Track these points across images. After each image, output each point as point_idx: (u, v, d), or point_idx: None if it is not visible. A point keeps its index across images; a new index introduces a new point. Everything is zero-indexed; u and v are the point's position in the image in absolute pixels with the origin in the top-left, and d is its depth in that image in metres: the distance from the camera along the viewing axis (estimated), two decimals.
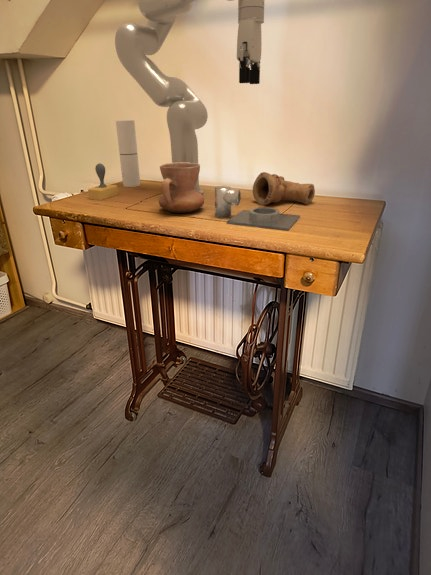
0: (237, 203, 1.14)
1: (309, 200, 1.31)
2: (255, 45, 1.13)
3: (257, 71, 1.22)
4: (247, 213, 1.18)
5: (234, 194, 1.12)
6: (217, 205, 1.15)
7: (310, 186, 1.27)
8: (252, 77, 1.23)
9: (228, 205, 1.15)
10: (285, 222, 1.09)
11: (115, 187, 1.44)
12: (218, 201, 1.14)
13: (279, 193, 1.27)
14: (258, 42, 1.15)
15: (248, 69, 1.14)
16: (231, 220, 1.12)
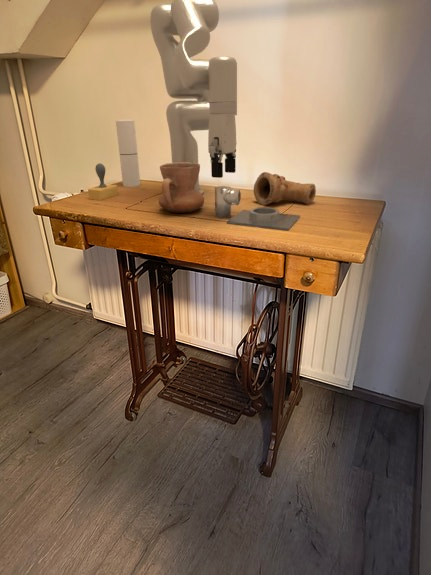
0: (237, 203, 1.14)
1: (310, 200, 1.31)
2: (227, 139, 1.05)
3: (232, 160, 1.14)
4: (247, 213, 1.18)
5: (234, 194, 1.12)
6: (217, 205, 1.15)
7: (311, 186, 1.27)
8: (227, 166, 1.16)
9: (228, 205, 1.15)
10: (285, 222, 1.09)
11: (115, 187, 1.44)
12: (218, 201, 1.14)
13: (280, 193, 1.27)
14: (231, 135, 1.07)
15: (220, 164, 1.06)
16: (231, 220, 1.12)
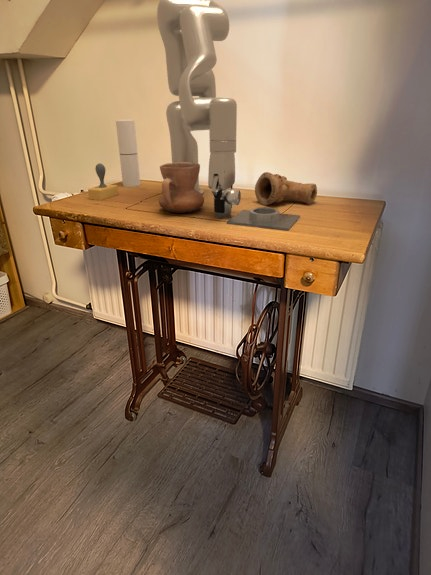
0: (237, 203, 1.14)
1: (311, 200, 1.31)
2: (227, 175, 1.10)
3: None
4: (247, 213, 1.18)
5: (234, 194, 1.12)
6: None
7: (313, 186, 1.27)
8: None
9: (228, 205, 1.15)
10: (285, 222, 1.09)
11: (115, 187, 1.44)
12: None
13: (282, 193, 1.27)
14: (231, 170, 1.12)
15: (223, 201, 1.13)
16: (231, 220, 1.12)
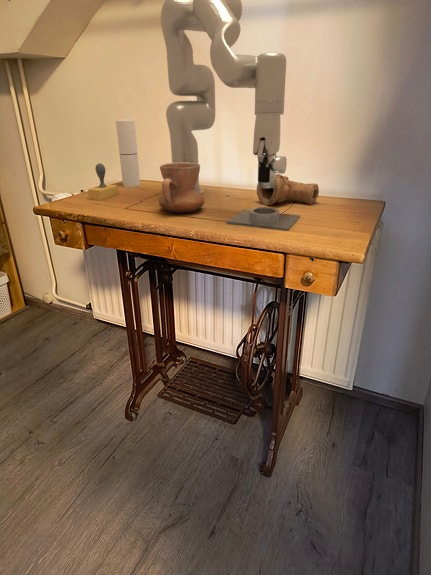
0: (283, 171, 1.05)
1: (313, 200, 1.31)
2: (274, 139, 1.01)
3: None
4: (247, 213, 1.18)
5: (281, 161, 1.03)
6: None
7: (314, 186, 1.27)
8: None
9: (273, 174, 1.06)
10: (285, 222, 1.09)
11: (115, 187, 1.44)
12: None
13: (284, 193, 1.27)
14: (277, 135, 1.03)
15: (268, 169, 1.04)
16: (231, 220, 1.12)
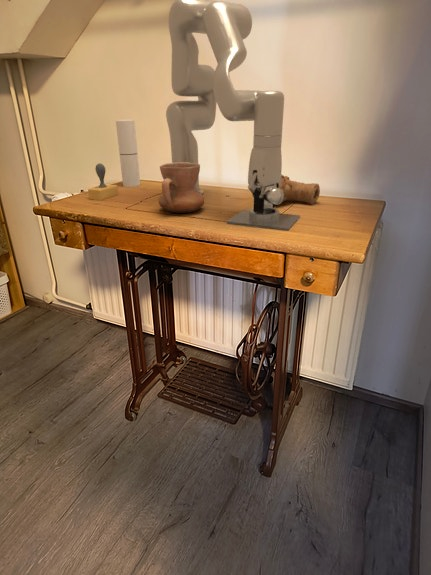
0: (277, 202, 1.08)
1: (314, 200, 1.31)
2: (267, 172, 1.04)
3: None
4: (247, 213, 1.18)
5: (274, 193, 1.06)
6: None
7: (316, 186, 1.27)
8: None
9: (268, 204, 1.09)
10: (285, 222, 1.09)
11: (115, 187, 1.44)
12: None
13: (285, 193, 1.27)
14: (273, 167, 1.06)
15: (262, 199, 1.08)
16: (231, 220, 1.12)
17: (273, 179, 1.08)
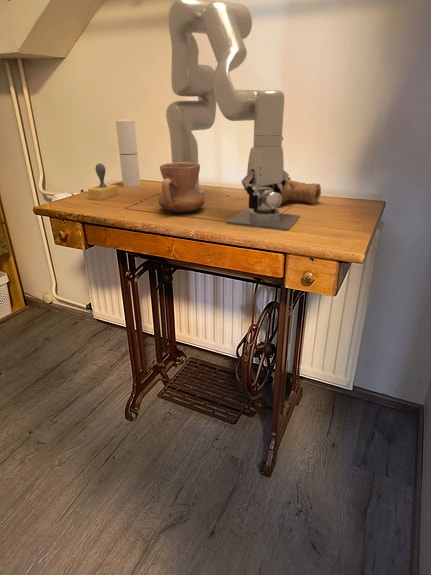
0: (274, 206, 1.08)
1: (315, 200, 1.31)
2: (265, 172, 1.04)
3: None
4: (247, 213, 1.18)
5: (270, 196, 1.06)
6: None
7: (317, 186, 1.27)
8: None
9: (266, 207, 1.10)
10: (285, 222, 1.09)
11: (115, 187, 1.44)
12: None
13: (286, 193, 1.27)
14: (273, 167, 1.05)
15: (255, 197, 1.07)
16: (231, 220, 1.12)
17: (273, 179, 1.07)
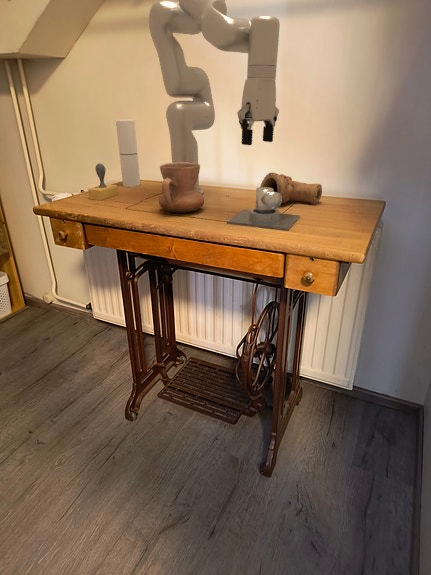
0: (274, 206, 1.08)
1: (317, 200, 1.31)
2: (261, 105, 1.02)
3: (270, 129, 1.10)
4: (247, 213, 1.18)
5: (270, 196, 1.06)
6: (256, 205, 1.11)
7: (318, 186, 1.27)
8: (265, 134, 1.12)
9: (266, 207, 1.10)
10: (285, 222, 1.09)
11: (115, 187, 1.44)
12: (257, 202, 1.10)
13: (287, 193, 1.27)
14: (267, 101, 1.03)
15: (250, 131, 1.04)
16: (231, 220, 1.12)
17: (267, 114, 1.05)
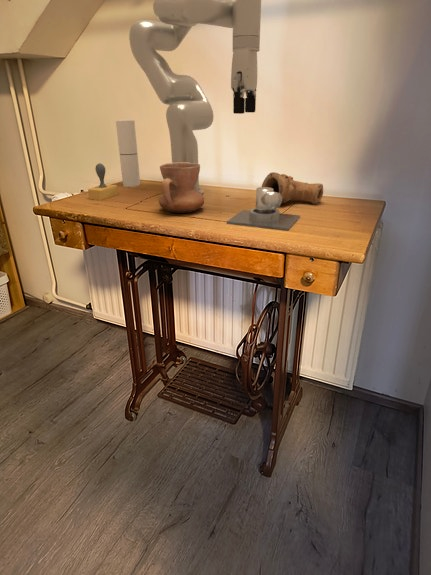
0: (274, 206, 1.08)
1: (318, 200, 1.31)
2: (250, 74, 1.08)
3: (253, 99, 1.17)
4: (247, 213, 1.18)
5: (270, 196, 1.06)
6: (256, 205, 1.11)
7: (319, 186, 1.27)
8: (248, 105, 1.18)
9: (266, 207, 1.10)
10: (285, 222, 1.09)
11: (115, 187, 1.44)
12: (257, 202, 1.10)
13: (289, 193, 1.27)
14: (253, 71, 1.10)
15: (243, 99, 1.09)
16: (231, 220, 1.12)
17: (253, 84, 1.12)
